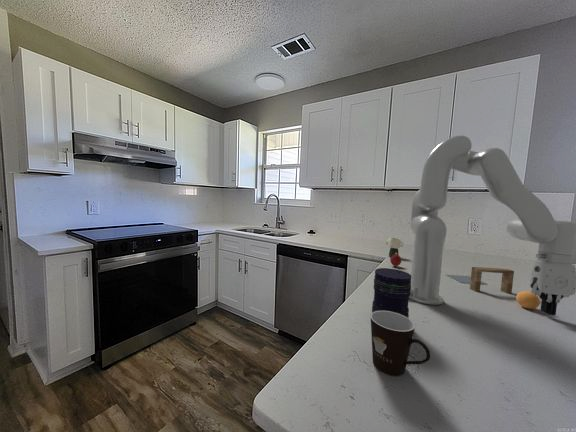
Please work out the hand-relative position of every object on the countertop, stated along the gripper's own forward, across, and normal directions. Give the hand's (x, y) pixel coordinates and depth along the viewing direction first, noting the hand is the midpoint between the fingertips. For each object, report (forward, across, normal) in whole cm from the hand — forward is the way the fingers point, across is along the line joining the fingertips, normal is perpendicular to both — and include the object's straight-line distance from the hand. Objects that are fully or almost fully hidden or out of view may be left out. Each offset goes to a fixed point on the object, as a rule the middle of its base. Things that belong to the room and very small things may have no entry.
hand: (547, 312), depth 77 cm
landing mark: (+2, -1, +38) cm, 38 cm away
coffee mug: (+2, -62, -33) cm, 70 cm away
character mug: (+2, -20, +80) cm, 82 cm away
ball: (-2, 0, +7) cm, 7 cm away
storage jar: (+2, -56, -12) cm, 57 cm away
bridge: (+2, 0, +23) cm, 23 cm away
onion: (+2, -28, +54) cm, 61 cm away
